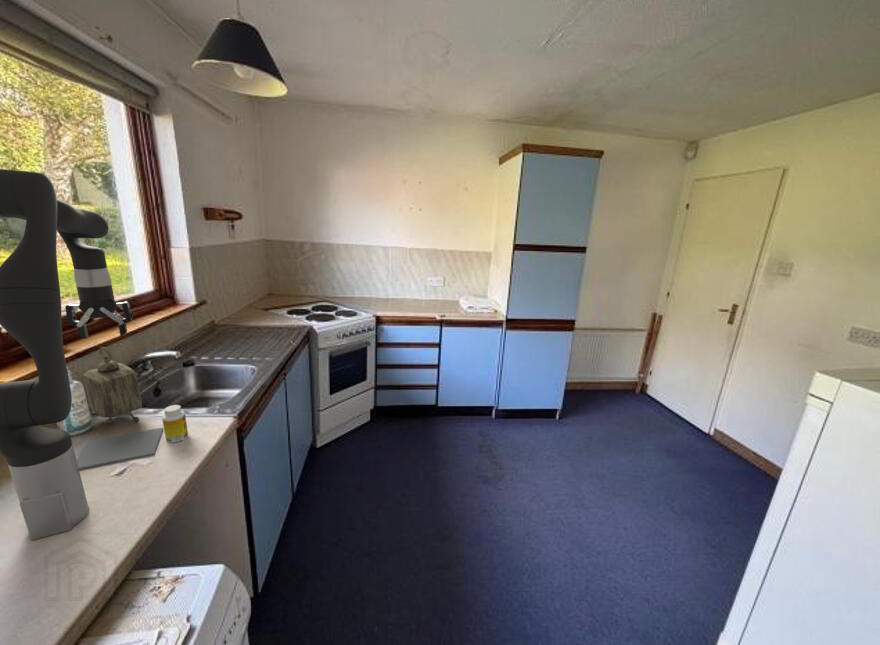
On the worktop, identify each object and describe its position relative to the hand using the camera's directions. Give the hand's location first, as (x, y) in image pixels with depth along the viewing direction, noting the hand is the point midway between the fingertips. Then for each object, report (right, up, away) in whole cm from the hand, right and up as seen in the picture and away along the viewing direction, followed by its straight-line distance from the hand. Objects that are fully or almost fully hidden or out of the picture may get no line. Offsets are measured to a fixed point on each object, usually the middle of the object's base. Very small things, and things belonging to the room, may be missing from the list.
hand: (104, 336), depth 110 cm
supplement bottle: (+22, -31, +1) cm, 38 cm away
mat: (+10, -32, -5) cm, 34 cm away
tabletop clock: (-3, -28, +8) cm, 29 cm away
